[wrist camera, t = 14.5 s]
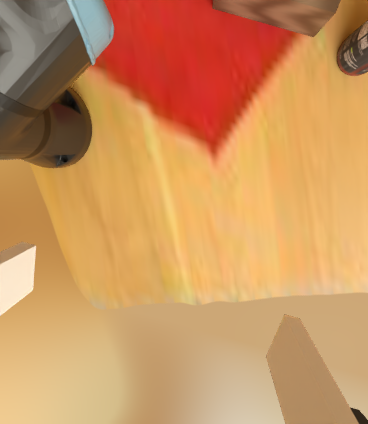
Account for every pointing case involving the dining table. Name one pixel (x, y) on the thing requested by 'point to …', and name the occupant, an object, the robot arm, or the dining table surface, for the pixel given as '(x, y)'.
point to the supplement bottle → (354, 52)
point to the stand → (283, 12)
